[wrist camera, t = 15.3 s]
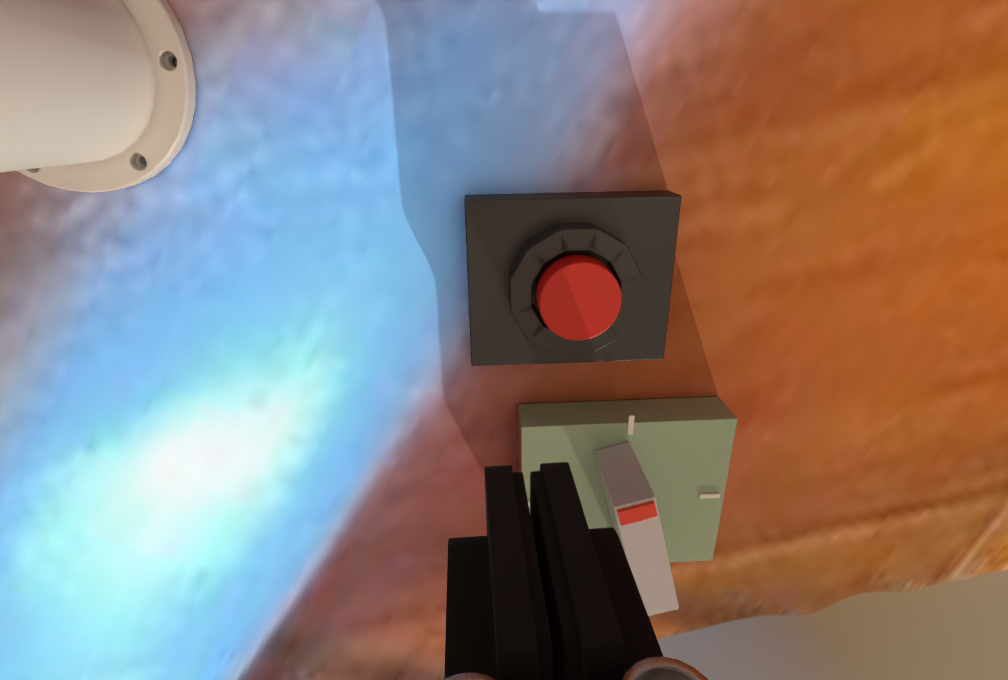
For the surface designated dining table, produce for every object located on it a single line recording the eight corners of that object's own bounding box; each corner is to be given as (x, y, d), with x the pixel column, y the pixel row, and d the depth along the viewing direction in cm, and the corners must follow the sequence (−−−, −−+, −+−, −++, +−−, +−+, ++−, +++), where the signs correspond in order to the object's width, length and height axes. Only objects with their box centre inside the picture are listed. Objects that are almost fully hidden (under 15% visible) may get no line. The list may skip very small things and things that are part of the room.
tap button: (535, 330, 31) (539, 342, 29) (536, 255, 29) (540, 263, 27) (611, 328, 31) (619, 339, 29) (616, 252, 29) (625, 261, 28)
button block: (471, 351, 35) (471, 379, 31) (465, 194, 31) (463, 205, 27) (652, 345, 35) (673, 372, 32) (668, 190, 32) (694, 200, 28)
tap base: (719, 388, 37) (740, 411, 34) (695, 537, 42) (712, 568, 39) (517, 396, 36) (521, 420, 33) (518, 545, 41) (521, 578, 39)
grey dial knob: (652, 543, 38) (680, 612, 33) (619, 551, 38) (642, 621, 33) (629, 441, 35) (656, 499, 29) (593, 450, 35) (614, 510, 29)
